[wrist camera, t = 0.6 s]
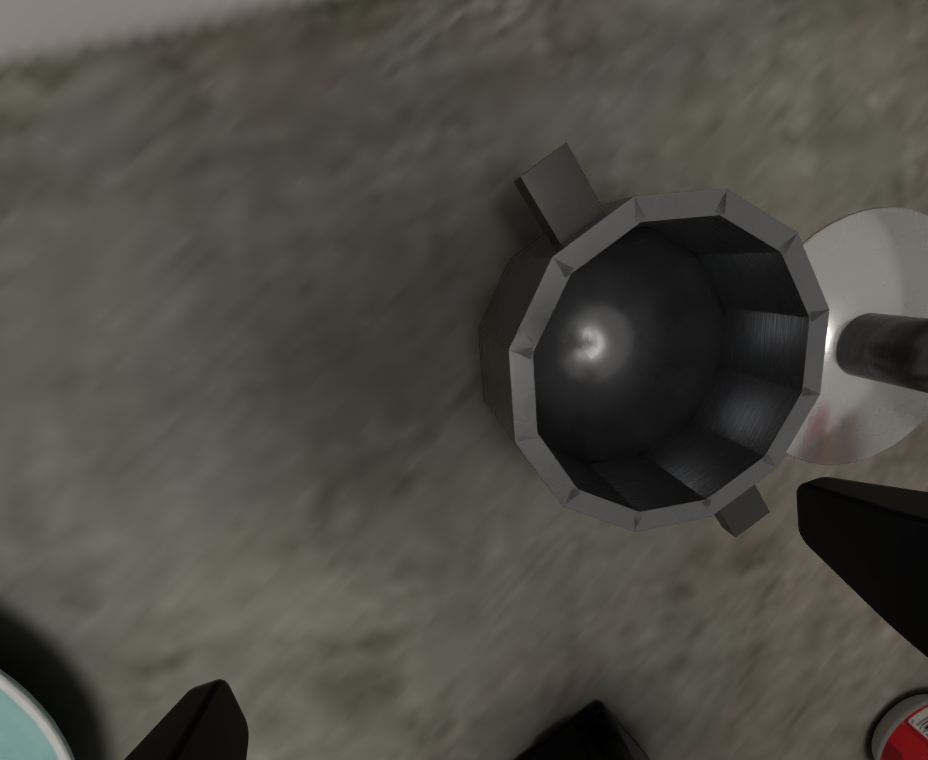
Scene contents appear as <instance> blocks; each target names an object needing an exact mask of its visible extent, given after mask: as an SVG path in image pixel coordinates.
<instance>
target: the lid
mask: <svg viewBox="0 0 928 760" xmlns="http://www.w3.org/2000/svg"><path fill="white" fill-rule="evenodd" d="M803 247H804V249H805V251H806V254H807V256H808V259H809V261H810V264H811V266H812V268H813V271H814V273H815V276H816V278H817V280H818V283H819V285H820V288H821V290H822V292H823V295H824V297H825V300H826V302H827V304H828V307H829V319H828V328H827V337H826V346H825V356H824V365H823V374H822V383H821V392H820V395H819V397H818V399H817V401H816V402H815V404H814V406H813V407H812V409H811V411H810V412H809V414H808V416H807V418H806V419H805V421H804V423H803V424H802V426H801V428H800V429H799V431H798V433H797V435H796V436H795V438H794V440H793V441H792V443H791V445H790V446H789V448H788V450H787V452H786V453H788V454H790V455H791V456H793V457H795V458H798V459H801V460H803V461H806V462H810V463H815V464H821V465H839V464H848V463H852V462H856V461H860V460H863V459H866V458H868V457H871V456H873V455H876V454H878V453H880V452H882V451H884V450H885V449H887V448H889V447H891V446H892V445H894V444H895V443H897V442H898V441H900V440H901V439H903V438H904V437H905V436H906V435H907V434H909V433H910V432H911V431H912V430H914V429H915V428H916V427H917V426H918V425H919V424H920V423H921V422H922V421H923V420H924V419H925V418H926V417H927V415H928V216H926V215H924V214H922V213H919V212H916V211H913V210H908V209H902V208H877V209H871V210H865V211H860V212H857V213H854V214H851V215H848V216H845V217H843V218H841V219H839V220H836V221H834V222H832V223H830V224H829V225H827V226H825V227H824V228H822V229H821V230H819V231H818V232H816V233H815V234H813V235H812V236H811V237H810V238H809V239H807V240H806V241H805V242H804V243H803Z"/></svg>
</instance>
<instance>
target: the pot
mask: <svg viewBox="0 0 928 760" xmlns="http://www.w3.org/2000/svg"><path fill="white" fill-rule="evenodd" d="M514 183H515V185H516V186H517V188H518V190H519V191H520V193H521V194H522V196H523V198H524V199H525V201H526V203H527V204H528V206H529V208H530V209H531V211H532V213H533V214H534V216H535V218H536V219H537V221H538V223H539V224H540V226H541V228H542V229H543V231H544V233H545V234H543V235H542V236H541V237H539V238H538V239H537V240H535V241H534V242H533V243H531V244H530V245H529V246H527V247H526V248H525V249H523V250H522V251H520V252H519V253H518V254H516V255H515V256H514V257H512V258H511V259H510V260H509V262H508V265H507V267H506V269H505V271H504V274H503V276H502V278H501V280H500V282H499V285H498V287H497V289H496V291H495V293H494V296H493V298H492V300H491V302H490V304H489V307H488V309H487V311H486V313H485V315H484V318H483V320H482V322H481V324H480V327H479V329H478V335H479V347H480V359H481V370H482V382H483V394H484V402H485V403H486V404H487V406H488V407H489V408H490V410H491V411H492V412H493V414H494V415H495V416H496V418H497V419H498V420H499V422H500V423H501V425H502V426H503V427H504V429H505V430H506V431H507V433H508V434H509V435H510V437H511V438H512V439H513V441H514V442H515V443H516V445H517V446H518V448H519V449H520V450H521V452H522V453H523V454H524V456H525V457H526V458H527V460H528V461H529V462H530V464H531V465H532V466H533V468H534V469H535V470H536V471H537V473H538V474H539V475H540V477H541V478H542V479H543V481H544V482H545V483H546V485H547V486H548V487H549V489H550V490H551V491H552V493H553V494H554V495H555V497H556V498H557V499H558V501H559V502H560V503H561V505H562V506H563V507H566V508H568V509H571V510H574V511H577V512H580V513H583V514H585V515H588V516H591V517H594V518H597V519H599V520H602V521H605V522H608V523H611V524H614V525H616V526H619V527H622V528H625V529H628V530H631V531H633V532H635V531H640V530H646V529H651V528H656V527H661V526H666V525H671V524H677V523H682V522H687V521H692V520H697V519H703V518H708V517H711V516H712V515H715V516H716V518H717V519H718V521H719V523H720V524H721V526H722V527H723V528H724V529H725V530H727V531H728V532H729V533H730V534H732V535H733V536H734V537H737V536H738V535H739V534H741V533H742V532H743V531H745V530H746V529H747V528H749V527H750V526H752V525H753V524H754V523H756V522H757V521H758V520H760V519H761V518H762V517H764V516H765V515H766V514H768V513H769V510H768V508H767V506H766V504H765V502H764V501H763V499H762V497H761V495H760V493H759V492H758V490H757V488H756V486H755V484H756V483H757V482H759V481H760V480H761V479H763V478H764V477H765V476H767V475H768V474H769V473H771V472H772V471H773V470H775V469H776V468H777V467H778V465H779V463H780V462H781V460H782V458H783V457H784V455H785V453H786V452H787V450H788V448H789V446H790V445H791V443H792V441H793V440H794V438H795V436H796V435H797V433H798V431H799V429H800V428H801V426H802V424H803V423H804V421H805V419H806V418H807V416H808V414H809V412H810V411H811V409H812V407H813V406H814V404H815V402H816V401H817V399H818V397H819V395H820V392H821V383H822V374H823V365H824V356H825V346H826V337H827V328H828V319H829V307H828V304H827V302H826V300H825V297H824V295H823V292H822V290H821V288H820V285H819V283H818V280H817V278H816V276H815V273H814V271H813V268H812V266H811V264H810V261H809V259H808V256H807V254H806V251H805V249H804V247H803V244H802V242H801V239H800V237H799V235H798V233H797V232H796V231H794V230H792V229H791V228H789V227H788V226H786V225H784V224H783V223H781V222H780V221H778V220H776V219H775V218H773V217H772V216H770V215H769V214H767V213H765V212H764V211H762V210H761V209H759V208H757V207H756V206H754V205H753V204H751V203H749V202H748V201H746V200H745V199H743V198H741V197H740V196H738V195H737V194H735V193H733V192H732V191H730V190H729V189H727V188H726V189H713V190H701V191H689V192H676V193H664V194H651V195H639V196H633V197H629V198H625V199H622V200H618V201H615V202H611V203H607V204H604V205H601V204H600V203H599V201H598V199H597V197H596V195H595V194H594V192H593V190H592V188H591V186H590V184H589V183H588V181H587V179H586V177H585V175H584V174H583V172H582V170H581V168H580V166H579V164H578V163H577V161H576V159H575V157H574V155H573V154H572V152H571V150H570V148H569V146H568V144H567V143H565V144H564V145H562V146H561V147H559V148H558V149H557V150H555V151H554V152H552V153H551V154H550V155H548V156H547V157H546V158H544V159H543V160H542V161H540V162H539V163H538V164H536V165H535V166H534V167H532V168H531V169H530V170H528V171H527V172H526V173H524V174H523V175H522V176H520V177H519V178H518V179H516V180H515V181H514Z"/></svg>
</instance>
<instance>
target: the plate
mask: <svg viewBox="0 0 928 760" xmlns="http://www.w3.org/2000/svg"><path fill="white" fill-rule="evenodd" d="M0 760H75V758H74V756H73V753H72V751H71V749H70V746H69V745H68V743H67V741H66V739H65V738H64V736H63V734H62V733H61V731H60V729H59V728H58V726H57V724H56V723H55V721H54V720H53V719H52V717H51V716H50V715H49V714H48V713H47V711H46V710H45V709H44V708H43V707H42V705H41V704H40V703H39V702H38V701H37V700H36V699H35V698H34V697H33V696H32V695H31V694H30V693H29V692H28V691H27V690H26V689H25V688H24V687H23V686H21V685H20V684H19V683H18V682H17V681H16V680H14V679H13V678H12V677H10V676H9V675H8V674H6V673H5V672H3V671H2V670H1V669H0Z"/></svg>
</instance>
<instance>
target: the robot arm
mask: <svg viewBox="0 0 928 760" xmlns="http://www.w3.org/2000/svg"><path fill="white" fill-rule="evenodd" d="M797 512H798V528H799V532H800V535H801V536H802V538H803V540H804V541H805V543H806V544H807V545H808V546H809V547H810V548H811V549H812V550H813V551H814V552H815V553H816V554H817V555H818V556H819V557H820V558H821V559H822V560H823V561H824V562H825V563H826V564H827V565H828V566H829V567H830V568H831V569H833V570H834V571H835V572H836V573H837V574H838V575H839V576H840V577H841V578H842V579H843V580H844V581H845V582H846V583H847V584H848V585H849V586H850V587H851V588H852V589H853V590H854V591H855V592H856V593H857V594H858V595H859V596H860V597H861V598H862V599H863V600H864V601H865V602H866V603H867V604H868V605H870V606H871V607H872V608H873V609H874V610H875V611H876V612H877V613H878V614H879V615H880V616H881V617H882V618H883V619H884V620H885V621H886V622H887V623H888V624H889V625H891V626H892V627H893V628H894V629H895V630H896V631H897V632H898V633H899V634H901V635H902V636H903V637H904V638H905V639H906V640H907V641H909V642H910V643H911V644H912V645H913V646H914V647H916V648H917V649H918V650H919V651H920V652H922V653H923V654H924V655H925V656H926V657H928V492H924V491H917V490H911V489H904V488H897V487H891V486H884V485H878V484H871V483H864V482H858V481H851V480H844V479H838V478H831V477H821V478H817V479H814V480H812V481H809V482H806V483H803V484H801V485H800V486H799V487H798V489H797ZM248 739H249V733H248V726H247V722H246V719H245V717H244V715H243V713H242V711H241V709H240V707H239V704H238V702H237V700H236V698H235V696H234V694H233V692H232V690H231V688H230V686H229V685H228V683H227V682H226V681H225V680H222V679H218V680H214V681H211V682H208V683H205V684H202V685H199V686H196V687H194V688H192V689H191V690H189V691H188V692H187V693H186V694H185V695H184V696H183V697H182V699H181V700H180V701H179V702H178V703H177V704H176V705H175V706H174V707H173V708H172V709H171V710H170V711H169V712H168V713H167V715H166V716H165V717H164V718H163V719H162V720H161V721H160V722H159V723H158V724H157V725H156V726H155V727H154V728H153V730H152V731H151V732H150V733H149V734H148V735H147V736H146V737H145V738H144V739H143V740H142V741H141V742H140V743H139V744H138V746H137V747H136V748H135V749H134V750H133V751H132V752H131V753H130V754H129V755H128V756H127V757H126V758H125V759H124V760H246V757H247V749H248ZM519 760H650V759H649V757H648V756H647V755H646V753H645V752H644V751H643V750H642V749H641V748H640V746H639V745H638V744H637V743H636V742H635V741H634V739H633V738H632V737H631V736H630V735H629V734H628V732H627V731H626V730H625V729H624V728H623V727H622V725H621V724H620V723H619V722H618V721H617V720H616V718H615V717H614V716H613V715H612V714H611V713H610V711H609V710H608V709H607V708H606V707H605V706H604V705H603V704H602V703H597V704H594V705H592V706H591V707H590V708H588V709H587V710H585V711H584V712H583V713H581V714H580V715H579V716H577V717H576V718H575V719H573V720H572V721H571V722H569V723H568V724H566V725H565V726H564V727H562V728H561V729H560V730H558V731H557V732H556V733H554V734H553V735H552V736H550V737H549V738H548V739H546V740H545V741H543V742H542V743H541V744H539V745H538V746H537V747H535V748H534V749H533V750H531V751H530V752H529V753H527V754H526V755H524V756H523V757H522V758H520V759H519Z"/></svg>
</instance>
